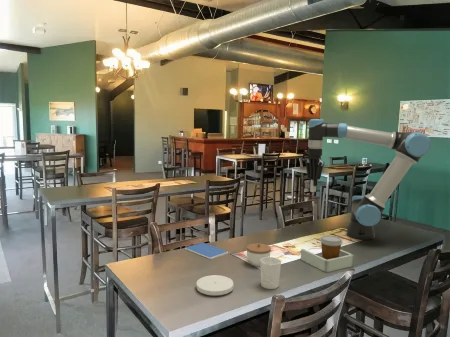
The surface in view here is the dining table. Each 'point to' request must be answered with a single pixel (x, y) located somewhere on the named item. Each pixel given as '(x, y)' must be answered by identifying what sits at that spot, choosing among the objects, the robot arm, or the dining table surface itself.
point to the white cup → (270, 272)
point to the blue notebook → (206, 250)
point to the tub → (328, 261)
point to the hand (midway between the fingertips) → (313, 191)
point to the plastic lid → (215, 285)
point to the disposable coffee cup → (330, 246)
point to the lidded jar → (257, 253)
